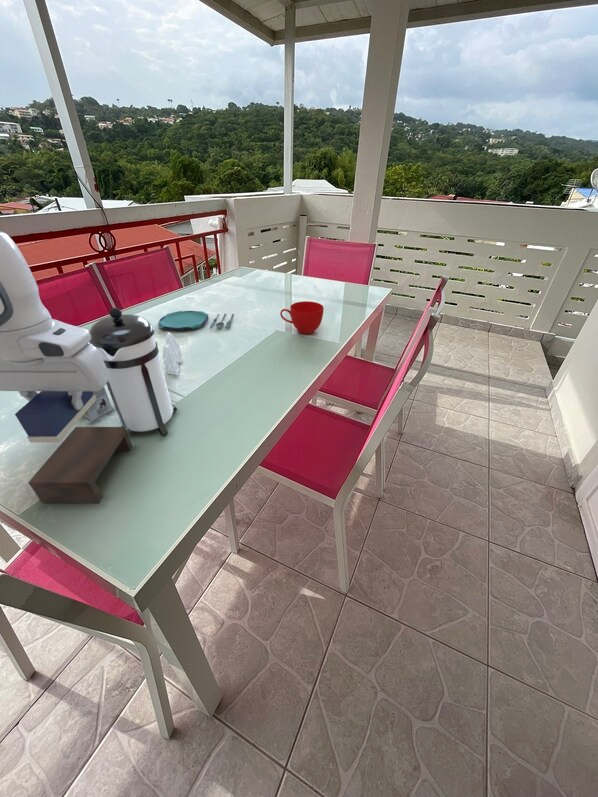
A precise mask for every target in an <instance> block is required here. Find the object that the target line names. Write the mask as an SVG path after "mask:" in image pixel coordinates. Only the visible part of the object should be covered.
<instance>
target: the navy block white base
mask: <svg viewBox="0 0 598 797" xmlns="http://www.w3.org/2000/svg"><path fill="white" fill-rule="evenodd" d="M72 396H73V395H69V394H68V392H67V391H39V392H38V394H37V395H36V396H35V397H34V398H33V399H32V400H30V401H28V402H27V403H26V404H24V406H22V407H21V408H20V409H19V410H18V411H16V412H15V414H14V415H15V418H16V419H17V421H18V422H19V424H20V426H21V427H22V429H23V430H24V432H25V434H26V435H27V439H28V441H29V443H60V442H61V441H62V440H63V439H64V438H65V437H66V435H67V434H68V433H69V432H70V431H72V428H74V426H75V425H76V424H77V423H78V422H79V421H80V419H81V418H83V417H82V416H83V415H84V413H85V412H86V411H87V410H88V409H89V408H90V406H91V405H92V404H93V403H94V402H95V401H96V400H97V398H96V396H95V395H94V394H93V392H92V391H83V392H82V395H81V400H82V402H83V407H82V408H81V409H80V410H71V409H70V408H69V406H68V404H67V403H68V402H69V401H70V400H71V399H72Z"/></svg>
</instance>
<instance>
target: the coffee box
mask: <svg viewBox="0 0 598 797" xmlns="http://www.w3.org/2000/svg"><path fill="white" fill-rule="evenodd" d="M92 392H93V394H94V395H95V396H96V398H97V400H96V401H95V402H94V403H93V404H92V405H91V406H90V408H89V409H88V410H87V411H86V412H85V413H84V415H83V416H82V417H81V418H85V419H87V420H89V421H91V422H93V421H96V420H97V419H99V418H100V417H102V416H103V415H105V414H107V413H109V412H111V411H112V410H113V406H112V403H111V401H110V398H109V396H108V393H107V390H106V388H105V386H104V387H103V388H102V389H101V390H100V391H92Z"/></svg>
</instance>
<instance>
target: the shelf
mask: <svg viewBox="0 0 598 797" xmlns="http://www.w3.org/2000/svg"><path fill="white" fill-rule="evenodd" d="M132 448H134V446H133V444H132V441H131V438H130V435H129V434H128V433H127V428H126V427H121V426H75V427H73V430H71V432H70V433H69V434H68V435H67V436H66V438H65V439H64V440H63V441H62V442H61V444H60V445H58V447H57V448H56V449H55V451H54V452H52V454H51V455H50V456H49V457H48V458H47V460H45V462H44V463H43V464H42V466H41V467H40V468H39V469H38V470H37V471H36V473H35V474H34V475H33V476H32V477H31V479H30V480H29V481H28V485H29V486H30V488H31V489H32V490H33V492H34V493H35V495H36V496H37V498H38V499H39V501H40V502H41V504H100V503H101V502H102V500H103V498H104V496H103V495H102V492H101V491H100V488H99V486H98V485H97V483H96V481H97V480H98V478H99V476H100V475H101V473H102V471H103V470H104V469H105V467H106V466H107V464H108V462H109V461H110V459H111V458H112V456H113V455H114V453H115V452H131V451H132Z"/></svg>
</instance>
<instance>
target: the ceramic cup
mask: <svg viewBox="0 0 598 797" xmlns="http://www.w3.org/2000/svg"><path fill="white" fill-rule="evenodd" d="M324 308H325V307H324V305H323V304H321V303H319V302H316V301H309V300H306V301H297V302H294V303H292V304H290V307H289V309H288V308H282V309H281V310H280V313H279V314H280V317H281V319H282V320H283V321H285V322H286V323H290V324H292V326H294V328H295V329H296V330H297V331H298V333H300V334H302V335H311V334H313V333H315V332H316V331H317V330H318V328H320V326H321V324H322V321H323V316H324V311H325V310H324ZM283 312H288V314H289V316H290V319H291V320H290V319H288V318H286V317H284V315H283Z"/></svg>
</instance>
